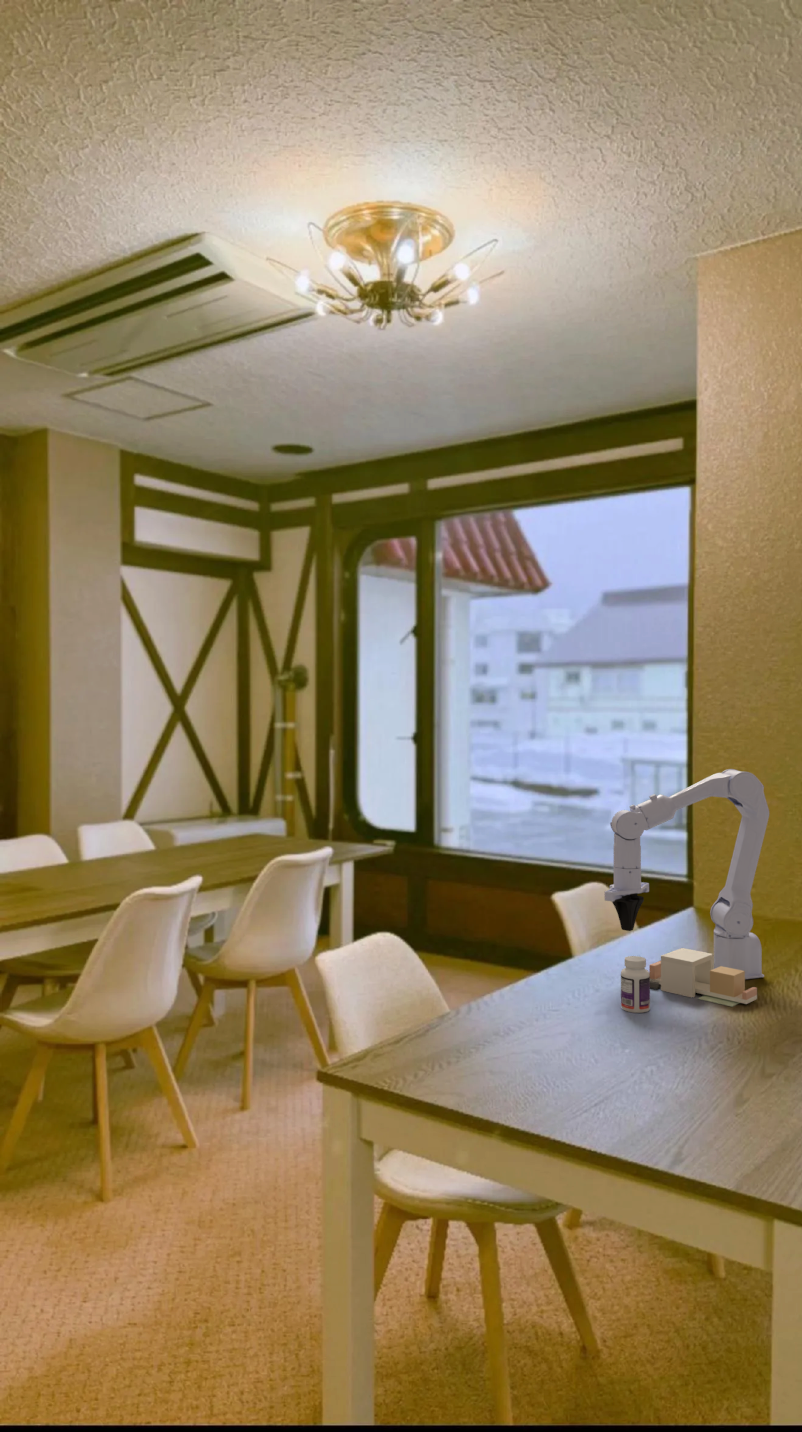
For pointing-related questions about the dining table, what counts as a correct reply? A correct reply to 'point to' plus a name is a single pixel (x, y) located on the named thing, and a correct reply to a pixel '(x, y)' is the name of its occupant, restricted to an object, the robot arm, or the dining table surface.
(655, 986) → the pit tray
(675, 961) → the tunnel
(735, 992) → the sled
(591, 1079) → the dining table surface
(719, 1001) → the pad
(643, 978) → the pill bottle
